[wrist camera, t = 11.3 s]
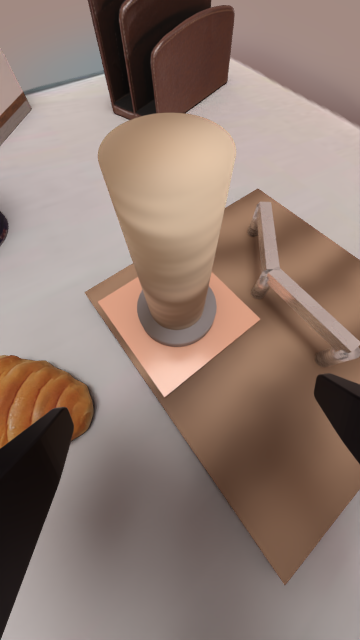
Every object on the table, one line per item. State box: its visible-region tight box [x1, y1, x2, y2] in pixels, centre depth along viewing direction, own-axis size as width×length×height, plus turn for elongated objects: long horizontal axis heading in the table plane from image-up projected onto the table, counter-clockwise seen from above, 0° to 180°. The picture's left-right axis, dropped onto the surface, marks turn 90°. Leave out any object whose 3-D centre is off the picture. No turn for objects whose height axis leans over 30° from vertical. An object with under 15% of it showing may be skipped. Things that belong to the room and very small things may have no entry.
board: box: [85, 189, 360, 585], centre depth 18 cm, size 24×23×1 cm
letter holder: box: [88, 0, 234, 120], centre depth 29 cm, size 10×20×14 cm, turn 143°
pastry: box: [0, 355, 93, 448], centre depth 15 cm, size 9×7×4 cm
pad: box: [98, 272, 260, 397], centre depth 18 cm, size 10×10×1 cm
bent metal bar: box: [247, 202, 360, 367], centre depth 17 cm, size 15×4×4 cm, turn 15°
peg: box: [98, 113, 236, 347], centre depth 12 cm, size 6×6×12 cm
